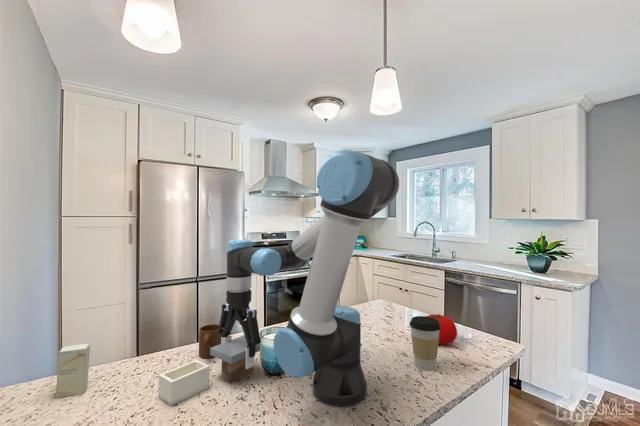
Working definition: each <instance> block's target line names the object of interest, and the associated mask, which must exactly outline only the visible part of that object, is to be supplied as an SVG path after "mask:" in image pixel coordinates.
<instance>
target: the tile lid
mask: <svg viewBox="0 0 640 426" xmlns="http://www.w3.org/2000/svg"><path fill="white" fill-rule="evenodd" d="M251 342H252V341H251ZM247 345H248V344H247V341H246V338H245V335H244V334H243V335H242V336H238V337H235V338H233V339H232V340H230V341H228V342H225V343H221V344H220V345H217V346H214V347H212V348H210V355H212V356H214V358H217V359H218V360H221V361H222V360H223V361H225V362H228V363H230V364H232V363H235V362H237V361H239V360H241V359H243V358H246V346H247ZM259 352H261V351H260V344H258V345H256V346H255V354H257V353H259Z"/></svg>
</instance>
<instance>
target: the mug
mask: <svg viewBox="0 0 640 426" xmlns="http://www.w3.org/2000/svg"><path fill="white" fill-rule="evenodd" d="M218 328H219V324H207V325H203V326H201V327H200V328H199V332H198V355H199V357H200V358H202V359H213V358H215V357H214V356H212V355H210V348H212V347H214V346H217V345H220V344H222V336H221V334H218Z"/></svg>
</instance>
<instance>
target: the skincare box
mask: <svg viewBox="0 0 640 426" xmlns="http://www.w3.org/2000/svg"><path fill="white" fill-rule="evenodd" d="M90 348H91V343H90V342H89V343H88V342H87V343H79V344H72V345H64V346H62V347H61V349H60V350H59V351H58V359H57V371H56V389H55V399H59V398H63V397H65V398H66V397H70V396H76V395H77V396H78V395H82V394H85V391H86V390H87V388H88V384H89V383H88V382H89V367H90V351H91V349H90Z"/></svg>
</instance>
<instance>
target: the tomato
mask: <svg viewBox="0 0 640 426" xmlns="http://www.w3.org/2000/svg"><path fill="white" fill-rule="evenodd" d="M425 316H426V317H431V318H434V319H437V320H438V321H439V324H440V326H441V329H440V330H439V343H438V345H444V346H445V345H449V344H452V343H454V341H456V339H457V336H458V330H457V326H456V324H455V322H454V320H453V319H451V318H450V317H448V316H445V315H443V314H442V315H441V313H439V314H432V313H431V314H430V313H429V314H428V315H425Z"/></svg>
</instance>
